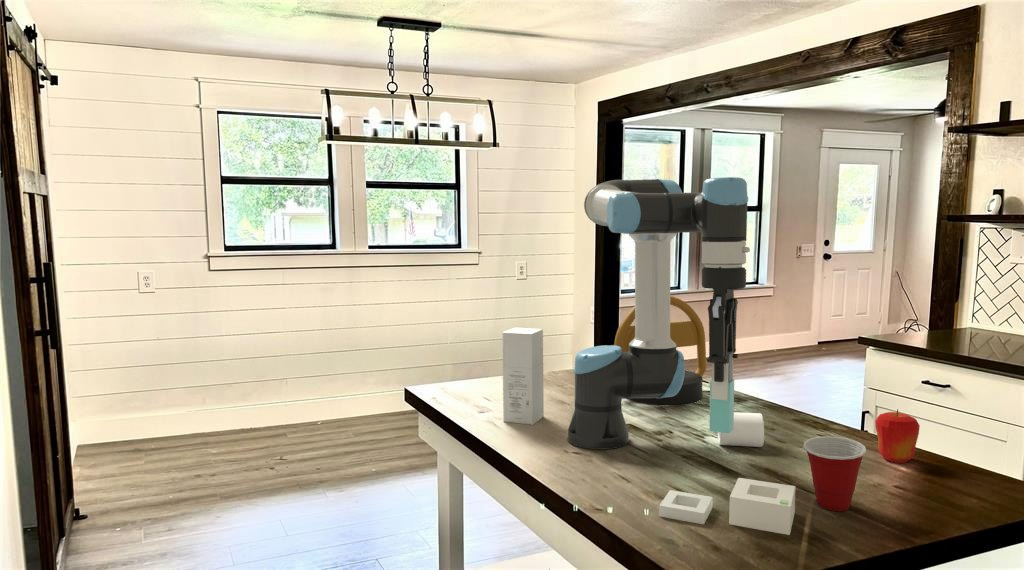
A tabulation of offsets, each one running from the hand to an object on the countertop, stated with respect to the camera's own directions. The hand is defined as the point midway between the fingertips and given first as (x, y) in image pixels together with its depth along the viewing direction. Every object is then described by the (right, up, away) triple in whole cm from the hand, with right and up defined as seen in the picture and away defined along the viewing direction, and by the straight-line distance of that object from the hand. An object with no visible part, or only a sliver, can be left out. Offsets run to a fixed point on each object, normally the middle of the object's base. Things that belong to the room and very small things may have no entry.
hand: (722, 396), depth 124 cm
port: (+7, -23, +1) cm, 24 cm away
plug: (0, -6, 0) cm, 6 cm away
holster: (-5, -23, +4) cm, 24 cm away
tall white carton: (-34, -18, +69) cm, 79 cm away
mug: (+18, -19, +47) cm, 54 cm away
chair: (+9, -15, +93) cm, 95 cm away
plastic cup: (+24, -22, +8) cm, 34 cm away
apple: (+50, -20, +33) cm, 63 cm away
